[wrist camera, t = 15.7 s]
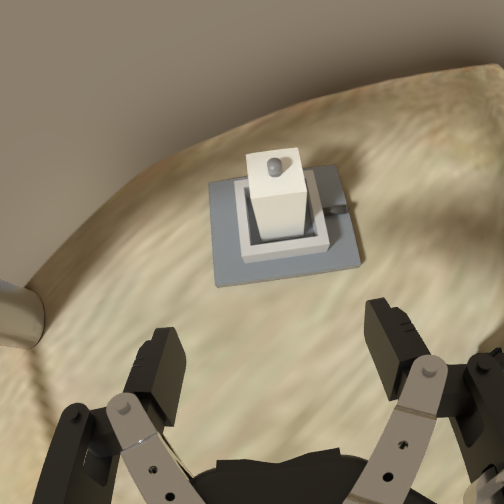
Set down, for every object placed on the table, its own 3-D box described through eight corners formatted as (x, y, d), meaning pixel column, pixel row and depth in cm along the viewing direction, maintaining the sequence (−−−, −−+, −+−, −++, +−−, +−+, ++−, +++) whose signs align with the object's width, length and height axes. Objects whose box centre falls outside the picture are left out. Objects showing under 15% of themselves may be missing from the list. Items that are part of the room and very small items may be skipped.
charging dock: (217, 287, 34) (209, 280, 31) (210, 187, 38) (203, 172, 35) (358, 267, 33) (366, 257, 29) (334, 169, 37) (337, 152, 34)
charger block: (261, 241, 34) (248, 191, 23) (257, 205, 36) (243, 145, 25) (303, 236, 34) (307, 183, 23) (296, 199, 35) (297, 138, 25)
